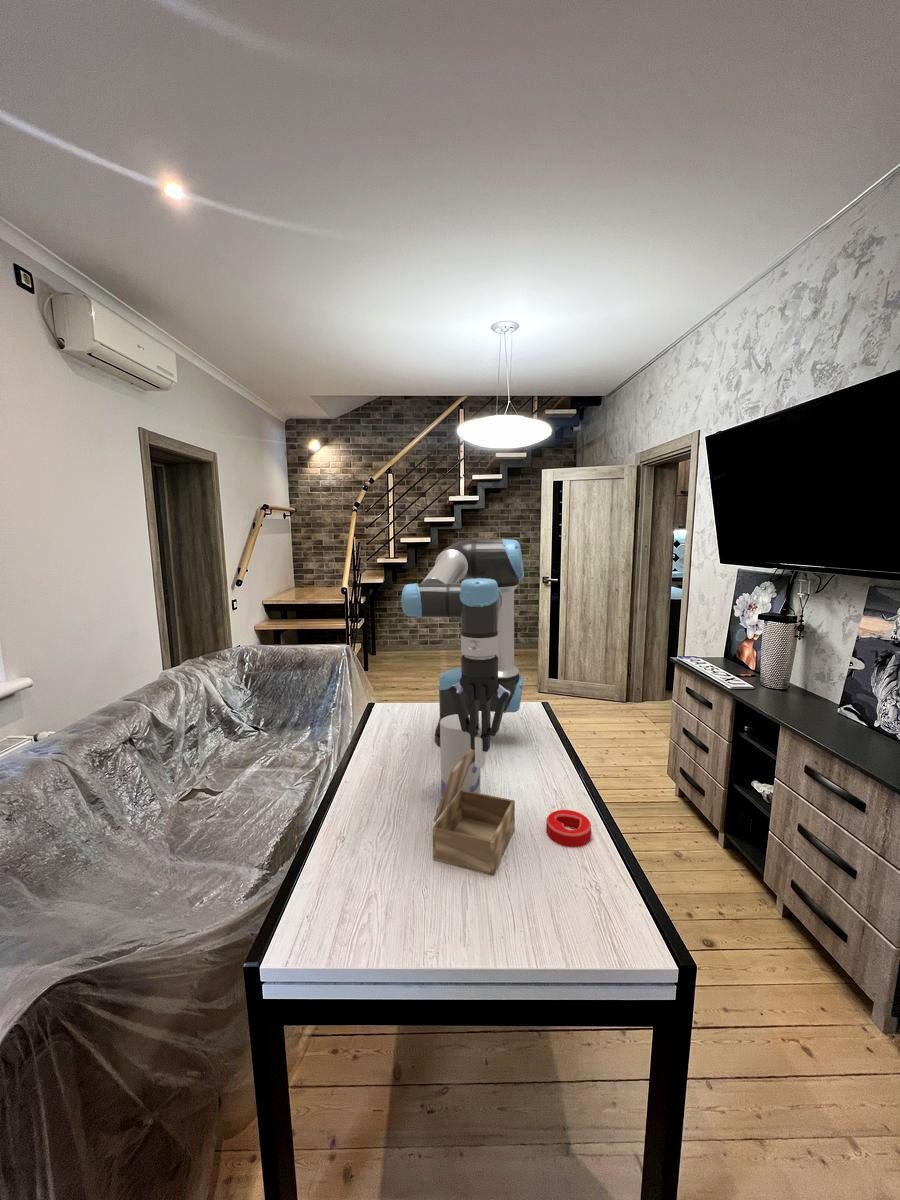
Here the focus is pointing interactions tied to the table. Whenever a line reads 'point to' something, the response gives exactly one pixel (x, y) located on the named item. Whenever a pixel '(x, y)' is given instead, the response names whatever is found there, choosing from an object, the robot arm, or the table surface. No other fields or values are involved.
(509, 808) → the wooden box
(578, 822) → the decorative ornament
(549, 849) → the table surface
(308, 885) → the table surface
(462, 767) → the lid
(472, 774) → the container
